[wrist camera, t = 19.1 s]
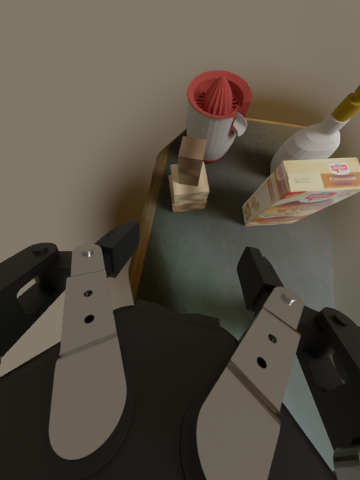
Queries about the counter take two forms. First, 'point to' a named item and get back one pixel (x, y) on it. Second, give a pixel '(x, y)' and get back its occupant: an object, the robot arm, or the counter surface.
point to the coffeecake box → (301, 190)
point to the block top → (189, 187)
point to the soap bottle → (318, 135)
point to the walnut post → (190, 160)
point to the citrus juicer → (217, 111)
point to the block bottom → (185, 205)
